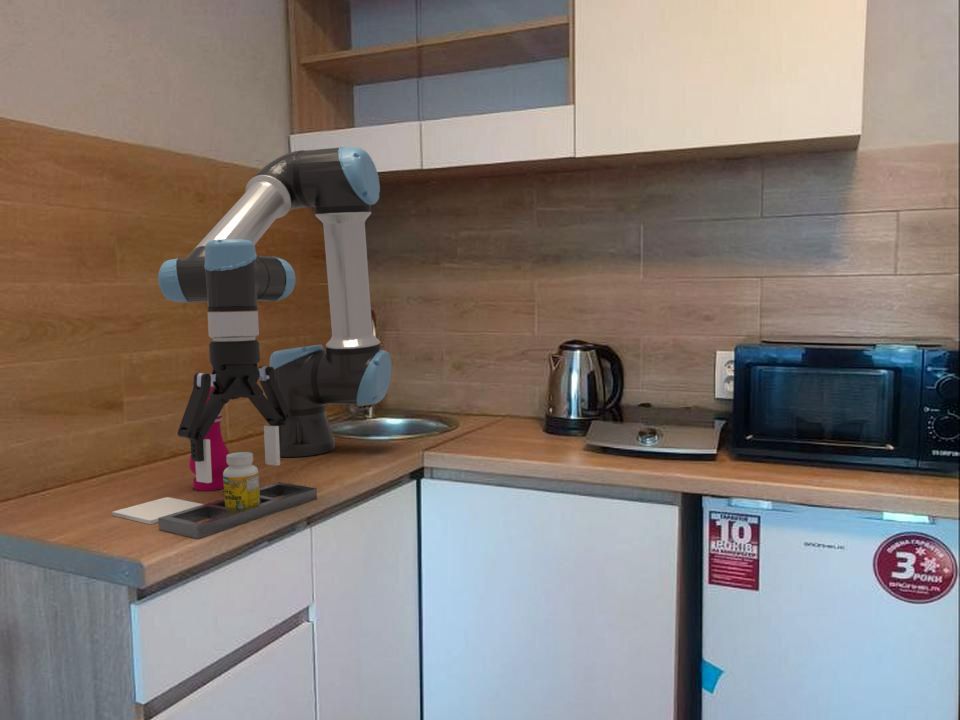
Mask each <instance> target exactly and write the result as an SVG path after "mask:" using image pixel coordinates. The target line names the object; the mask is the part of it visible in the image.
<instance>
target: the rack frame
mask: <svg viewBox="0 0 960 720" xmlns="http://www.w3.org/2000/svg"><path fill="white" fill-rule="evenodd" d="M259 490H260V504H258V505H254V506H251V507H248V508H245V509H242V510H237V509H232V508H227V507H225V497H224V498H222V499H219V500H213V501H212V502H208V503H205V504H204V503H203V504H204V505H200V506H197V507H194V508H190V509H187V510H183V511H180V512H177V513H173V514H170V515H166V516H163V517H159V518H158V522H157V523H158V530H159V531H163V532H167V533H172V534H176V535H181V536H184V537H189V538H193V539H197V540H198V539H202V538H204V537H208V536H210V535H213V534H216V533H220V532H222V531H225V530H228V529H231V528H234V527H237V526H241V525H243V524H246V523H249V522H252V521H255V520H258V519H261V518H263V517H268V516H270V515H273V514H276V513H279V512H283V511H285V510H288V509H291V508H294V507H297V506H300V505H303V504H306V503H309V502H311V501H314V500H318V488H315V487H310V486H305V485H297V484H294V483H293V484H291V483H285V482H279V481H278V482H276V483H275V482H274V483H273V484H269V485H265V486H262V487H259ZM277 496H280V497H278V498H276V497H277ZM206 518H209V519H207V520H204V519H206ZM199 520H204V521H202V522H201V521H200V522H197V521H199Z"/></svg>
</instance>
